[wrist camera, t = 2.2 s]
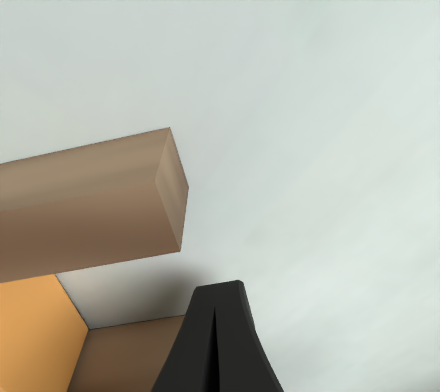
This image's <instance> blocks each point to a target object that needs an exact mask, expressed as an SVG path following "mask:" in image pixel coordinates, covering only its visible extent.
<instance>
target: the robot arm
mask: <svg viewBox="0 0 440 392" xmlns="http://www.w3.org/2000/svg"><path fill="white" fill-rule="evenodd" d="M150 392H284V391H283V389H282V387H281V385H280V383H279V381H278V379H277V377H276V375H275V373H274V371H273V369H272V367H271V365H270V363H269V361H268V359H267V357H266V354H265V352H264V350H263V348H262V345H261V343H260V341H259V338H258V336H257V333H256V331H255V326H254V321H253V317H252V314H251V310H250V306H249V302H248V298H247V295H246V291H245V287H244V283H243V282H242V281H240V280H235V281H229V282H223V283H217V284H211V285H205V286H198V287H196V288H195V290H194V292H193V295H192V298H191V301H190V304H189V306H188V309H187V312H186V314H185V317H184V320H183V322H182V325H181V327H180V330H179V332H178V334H177V337H176V339H175V341H174V343H173V346H172V348H171V350H170V352H169V355H168V357H167V359H166V361H165V363H164V365H163V367H162V369H161V371H160V373H159V375H158V377H157V379H156V381H155V383H154V385H153V387H152V389H151V391H150Z"/></svg>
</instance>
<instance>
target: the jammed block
mask: <svg viewBox="0 0 440 392" xmlns="http://www.w3.org/2000/svg"><path fill="white" fill-rule="evenodd" d="M87 332H88V327H87V326H86V324H85V322H84V321H83V319H82V318H81V316H80V314H79V313H78V311H77V310H76V308H75V307H74V305H73V303H72V302H71V300H70V299H69V297H68V295H67V294H66V292H65V291H64V289H63V287H62V286H61V284H60V283H59V281H58V279H57V278H56V276H55V275H54V274H50V275H45V276H39V277H33V278H28V279H22V280H16V281H11V282H5V283H0V392H67V389H68V386H69V384H70V381H71V378H72V375H73V372H74V369H75V366H76V363H77V361H78V358H79V355H80V352H81V349H82V346H83V343H84V341H85V338H86V335H87Z"/></svg>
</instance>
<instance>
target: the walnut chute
mask: <svg viewBox="0 0 440 392" xmlns="http://www.w3.org/2000/svg"><path fill="white" fill-rule="evenodd" d="M188 189H189V186H188V183H187V180H186V177H185V174H184V170H183V167H182V164H181V161H180V158H179V154H178V151H177V148H176V145H175V142H174V138H173V135H172V132H171V129H170V127H169V128H164V129H159V130H155V131H150V132H146V133H141V134H136V135H132V136H127V137H122V138H118V139H113V140H109V141H104V142H99V143H95V144H90V145H85V146H81V147H76V148H72V149H67V150H62V151H58V152H53V153H48V154H44V155H39V156H35V157H30V158H25V159H21V160H16V161H11V162H7V163H2V164H0V283H5V282H11V281H16V280H22V279H28V278H33V277H39V276H45V275H50V274H56V273H62V272H67V271H73V270H79V269H84V268H90V267H96V266H101V265H107V264H113V263H118V262H124V261H130V260H135V259H141V258H147V257H152V256H158V255H164V254H169V253H175V252H180V251H181V243H182V235H183V228H184V220H185V212H186V204H187V197H188ZM184 317H185V315H183V316H177V317H170V318H164V319H157V320H151V321H144V322H138V323H132V324H125V325H119V326H112V327H106V328H100V329H93V330H88V332H87V335H86V338H85V341H84V343H83V346H82V349H81V352H80V355H79V358H78V361H77V363H76V366H75V369H74V372H73V375H72V378H71V381H70V384H69V386H68V389H67V392H150V391H151V389H152V387H153V385H154V383H155V381H156V379H157V377H158V375H159V373H160V371H161V369H162V367H163V365H164V363H165V361H166V359H167V357H168V355H169V352H170V350H171V348H172V346H173V343H174V341H175V339H176V337H177V334H178V332H179V330H180V327H181V325H182V322H183V320H184Z"/></svg>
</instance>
